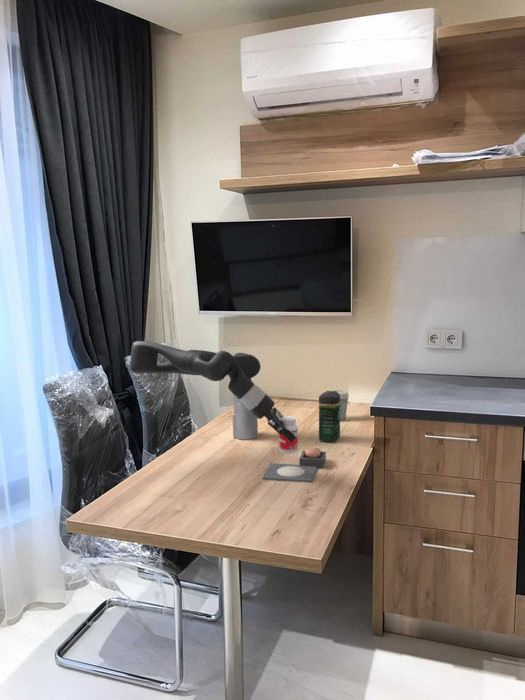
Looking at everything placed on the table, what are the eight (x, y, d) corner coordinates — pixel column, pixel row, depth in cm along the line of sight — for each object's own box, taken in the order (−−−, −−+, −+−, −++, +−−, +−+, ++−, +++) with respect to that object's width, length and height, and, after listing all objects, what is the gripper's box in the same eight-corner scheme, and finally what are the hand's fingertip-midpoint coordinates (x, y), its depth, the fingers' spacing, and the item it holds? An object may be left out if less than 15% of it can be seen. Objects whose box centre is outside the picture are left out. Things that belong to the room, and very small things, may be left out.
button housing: (299, 466, 198) (299, 458, 197) (303, 458, 205) (302, 450, 205) (323, 468, 196) (323, 459, 196) (325, 459, 204) (325, 451, 203)
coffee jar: (337, 443, 220) (337, 395, 217) (317, 442, 223) (316, 394, 220) (342, 436, 229) (342, 389, 226) (322, 434, 232) (321, 388, 229)
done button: (304, 457, 198) (304, 452, 198) (306, 452, 203) (306, 447, 203) (319, 458, 197) (319, 452, 197) (321, 453, 202) (321, 447, 202)
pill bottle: (276, 449, 193) (276, 416, 191) (293, 446, 195) (293, 414, 193) (283, 455, 187) (282, 421, 185) (300, 452, 189) (300, 419, 187)
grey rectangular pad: (262, 479, 188) (262, 477, 188) (270, 464, 200) (270, 462, 200) (312, 482, 184) (312, 480, 184) (317, 467, 197) (317, 465, 197)
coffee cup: (352, 418, 252) (352, 391, 250) (341, 423, 246) (340, 395, 244) (336, 415, 258) (336, 389, 256) (324, 419, 252) (324, 392, 250)
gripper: (250, 403, 196) (285, 437, 198) (247, 415, 182) (285, 451, 183) (265, 388, 195) (301, 422, 196) (264, 398, 181) (302, 435, 182)
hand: (293, 436), depth 190 cm, fingers closed on pill bottle, 6 cm apart
